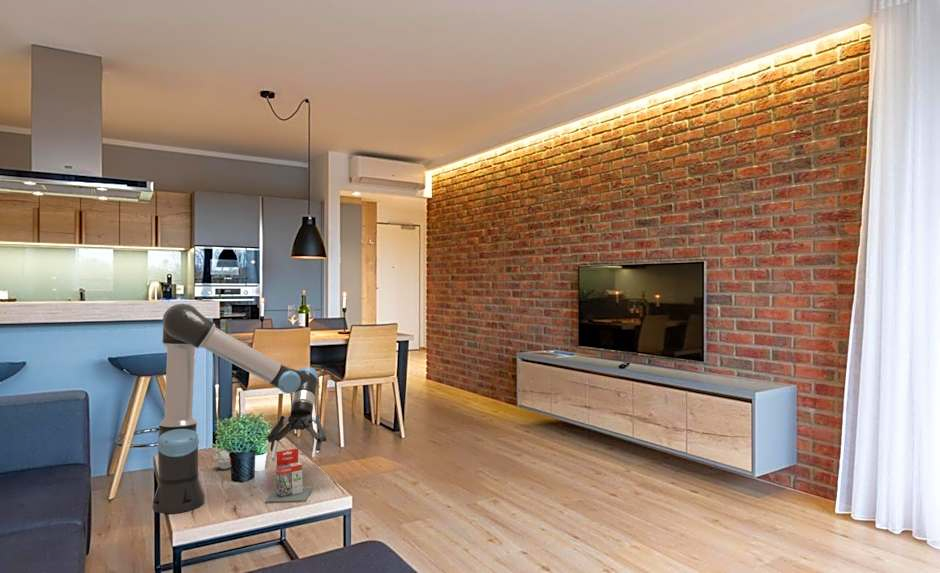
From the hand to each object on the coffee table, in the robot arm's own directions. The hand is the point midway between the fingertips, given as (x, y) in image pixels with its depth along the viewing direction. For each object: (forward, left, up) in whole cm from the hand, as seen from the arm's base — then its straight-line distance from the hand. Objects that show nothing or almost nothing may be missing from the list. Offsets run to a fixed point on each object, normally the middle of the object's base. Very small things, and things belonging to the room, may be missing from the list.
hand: (293, 459), depth 206 cm
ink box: (-1, -2, -11) cm, 12 cm away
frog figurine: (-33, +30, -12) cm, 46 cm away
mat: (-1, -2, -12) cm, 12 cm away
